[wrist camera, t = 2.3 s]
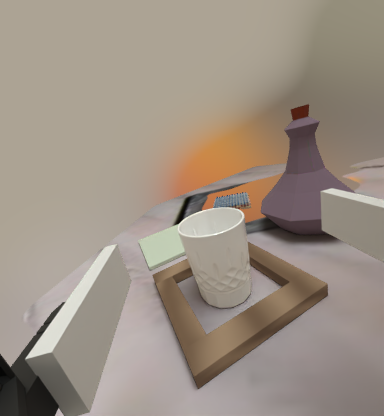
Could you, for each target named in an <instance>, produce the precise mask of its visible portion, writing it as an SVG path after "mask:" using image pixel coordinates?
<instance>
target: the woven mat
mask: <svg viewBox="0 0 384 416" xmlns="http://www.w3.org/2000/svg"><path fill="white" fill-rule="evenodd" d="M228 197H229V198H228ZM223 198H224V199H223ZM248 199H249V197H248V195H247V193H243V192H242V194H241V193H240V194H238V193H237V195H235V194H234V195H233V194H232V195H231V196H230V195H229V196H228V195H227V196H226V197H225V196H224V197H223V196H222V197H221V198H220V197H219V198H218V197H217V198H216V201H215V203H214V205H215V206H214V207H213V208H221V207H229V208H235V209H239V208H241V209H249V208H251V206H249V205H251V203H249V202H250V201H249V200H248ZM240 205H241V206H240Z"/></svg>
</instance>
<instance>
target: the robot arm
mask: <svg viewBox="0 0 384 416" xmlns="http://www.w3.org/2000/svg"><path fill="white" fill-rule="evenodd" d="M321 220H322V231H324V232H326V233H328V234H330V235H332V236H334V237H336V238H338V239H340V240H342V241H344V242H345V243H347V244H349V245H351V246H353V247H355V248H357V249H359V250H361V251H363V252H365V253H367V254H368V255H370V256H372V257H374V258H376V259H378V260H380V261H382V262H384V200H382V199H378V198H373V197H369V196H364V195H360V194H356V193H351V192H347V191H342V190H338V189H333V188H331V189H327V190H323V191H321ZM130 284H131V278H130V275H129V273H128V270H127V268H126V265H125V263H124V260H123V258H122V255H121V253H120V250H119V248H118V245H117V244H115V245H111V246H108V247H105V248H104V249H103V250H102V252H101V253H100V255H99V256H98V257H97V259H96V260H95V262H94V263H93V264H92V266H91V267H90V269H89V270H88V271H87V273H86V274H85V276H84V277H83V279H82V280H81V281H80V283H79V284H78V286H77V287H76V288H75V290H74V291H73V293H72V294H71V295H70V297H69V298H68V300H67V301H66V302H63V303H62V304H61V305H60V306H59V307H57V308H56V309H55V310H54V311H53V312H52V313H51V314H50V316H49V317H48V318H47V320H46V321H45V322H44V325H43V326H41V328H40V329H39V330H38V332H37V334H36V335H35V336H34V337H33V338H32V340H31V341H30V342H29V344H28V345H27V346H26V348H25V349H24V350H23V352H22V353H21V354H20V356H19V357H18V358H17V360H16V361H15V362H14V364H13V365H12V366H11V367H10V366H9V365H8V364H7V362H6V361H5V360H4V358H3V357H2V356H1V354H0V416H55V414H56V412H57V410H58V408H59V409H60V410H61V412H62V413H63V415H64V416H78V415H82V414H85V413H89V412H90V410H91V407H92V404H93V401H94V397H95V394H96V391H97V388H98V385H99V382H100V379H101V375H102V372H103V369H104V366H105V363H106V360H107V357H108V353H109V350H110V347H111V344H112V341H113V338H114V335H115V331H116V328H117V325H118V322H119V319H120V316H121V312H122V309H123V306H124V303H125V300H126V297H127V294H128V290H129V287H130Z"/></svg>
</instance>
